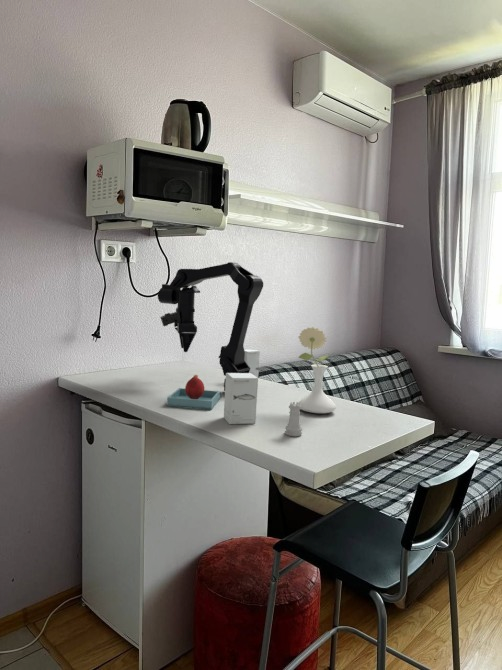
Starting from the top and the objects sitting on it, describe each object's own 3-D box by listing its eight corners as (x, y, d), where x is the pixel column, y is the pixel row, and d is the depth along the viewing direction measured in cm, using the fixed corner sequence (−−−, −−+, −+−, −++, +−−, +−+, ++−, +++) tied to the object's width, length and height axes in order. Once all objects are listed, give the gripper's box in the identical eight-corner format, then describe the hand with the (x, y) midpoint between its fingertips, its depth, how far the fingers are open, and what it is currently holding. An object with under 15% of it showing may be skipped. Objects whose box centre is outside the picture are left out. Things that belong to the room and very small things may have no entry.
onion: (200, 403, 156) (201, 377, 155) (182, 401, 157) (183, 375, 156) (206, 399, 161) (207, 374, 161) (188, 397, 163) (189, 372, 162)
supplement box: (229, 425, 138) (231, 377, 137) (223, 417, 145) (225, 372, 144) (256, 424, 140) (258, 377, 139) (248, 416, 147) (251, 372, 146)
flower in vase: (341, 411, 159) (347, 328, 156) (326, 419, 149) (333, 331, 146) (302, 403, 165) (307, 324, 162) (285, 410, 155) (290, 326, 153)
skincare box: (245, 384, 189) (247, 351, 187) (238, 382, 192) (239, 349, 191) (258, 383, 193) (260, 350, 191) (251, 381, 196) (252, 348, 195)
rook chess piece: (301, 431, 135) (303, 401, 134) (303, 437, 131) (305, 405, 130) (283, 431, 135) (285, 400, 134) (285, 436, 131) (287, 405, 130)
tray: (219, 399, 165) (220, 391, 165) (211, 409, 152) (211, 401, 152) (178, 396, 167) (179, 388, 166) (167, 406, 154) (167, 397, 153)
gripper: (160, 302, 189) (159, 345, 191) (164, 306, 171) (162, 353, 173) (191, 303, 192) (190, 346, 193) (198, 307, 174) (196, 354, 175)
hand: (184, 350), depth 184 cm, fingers open, 9 cm apart
